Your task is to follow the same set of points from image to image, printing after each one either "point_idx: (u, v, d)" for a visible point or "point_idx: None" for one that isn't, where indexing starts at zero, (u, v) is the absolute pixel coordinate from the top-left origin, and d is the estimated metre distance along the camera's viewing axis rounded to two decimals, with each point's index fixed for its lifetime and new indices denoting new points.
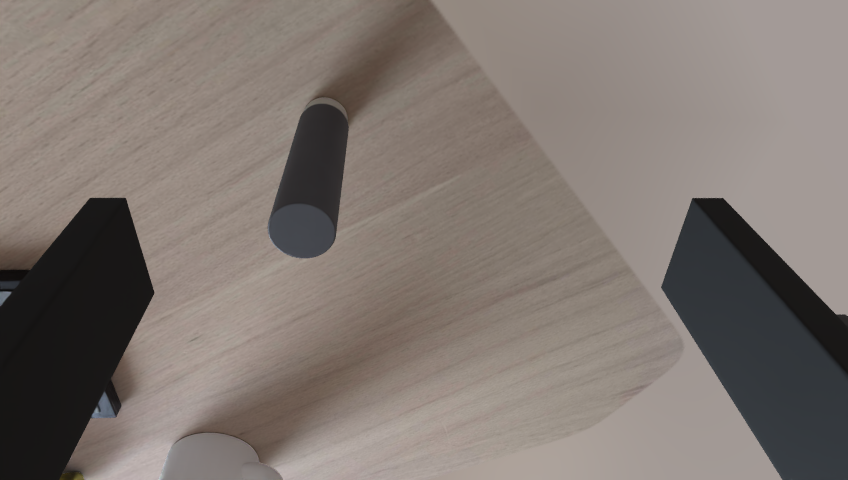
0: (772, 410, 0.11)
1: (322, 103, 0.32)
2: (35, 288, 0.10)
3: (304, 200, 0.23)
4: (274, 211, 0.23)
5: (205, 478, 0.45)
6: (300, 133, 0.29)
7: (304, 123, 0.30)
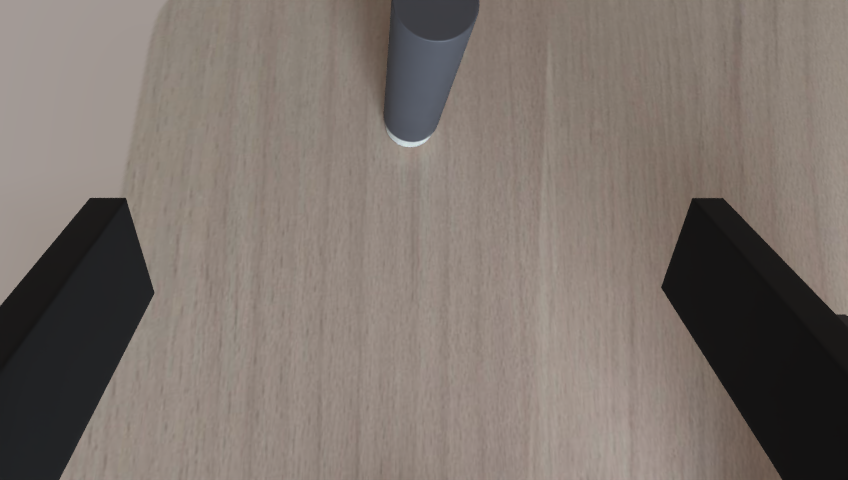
0: (772, 411, 0.11)
1: None
2: (35, 288, 0.10)
3: None
4: (393, 10, 0.18)
5: None
6: (385, 89, 0.25)
7: None
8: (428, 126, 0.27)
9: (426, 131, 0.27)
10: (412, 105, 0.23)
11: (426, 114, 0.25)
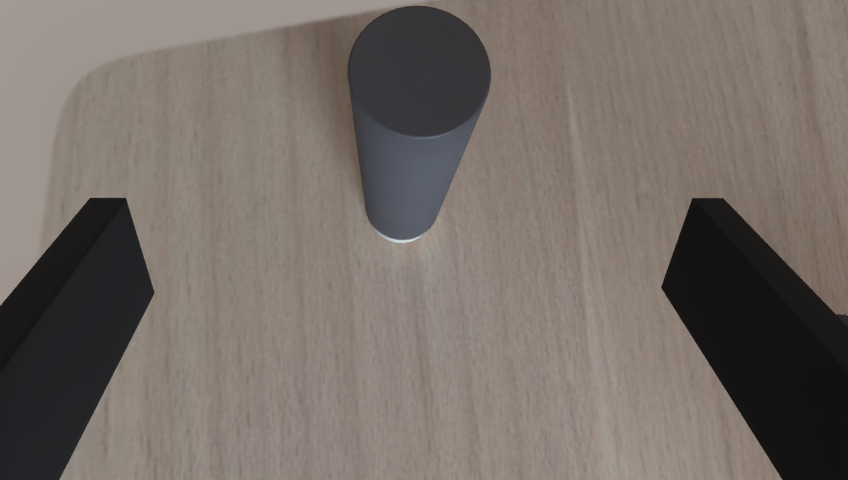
0: (772, 411, 0.11)
1: None
2: (35, 288, 0.10)
3: (361, 34, 0.11)
4: (352, 95, 0.11)
5: None
6: (362, 183, 0.18)
7: None
8: (426, 222, 0.19)
9: (424, 227, 0.20)
10: (401, 208, 0.16)
11: (423, 214, 0.17)
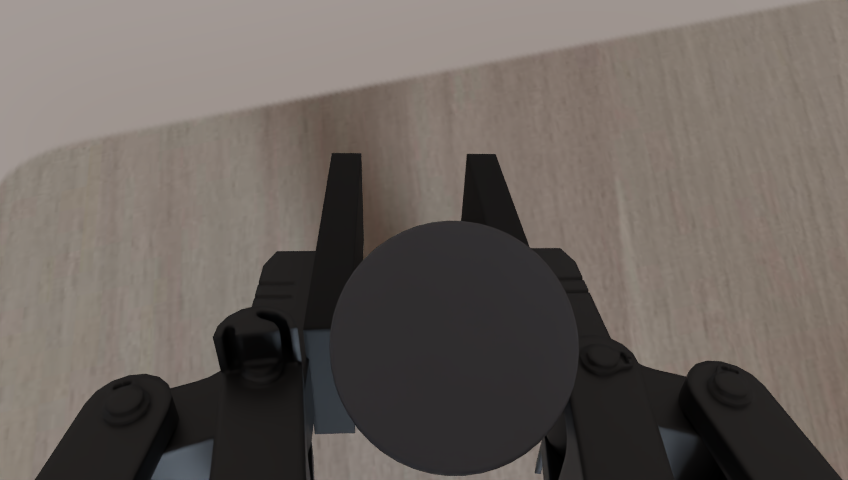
0: None
1: None
2: (337, 217, 0.12)
3: (355, 272, 0.07)
4: (338, 390, 0.06)
5: None
6: None
7: None
8: None
9: None
10: None
11: None
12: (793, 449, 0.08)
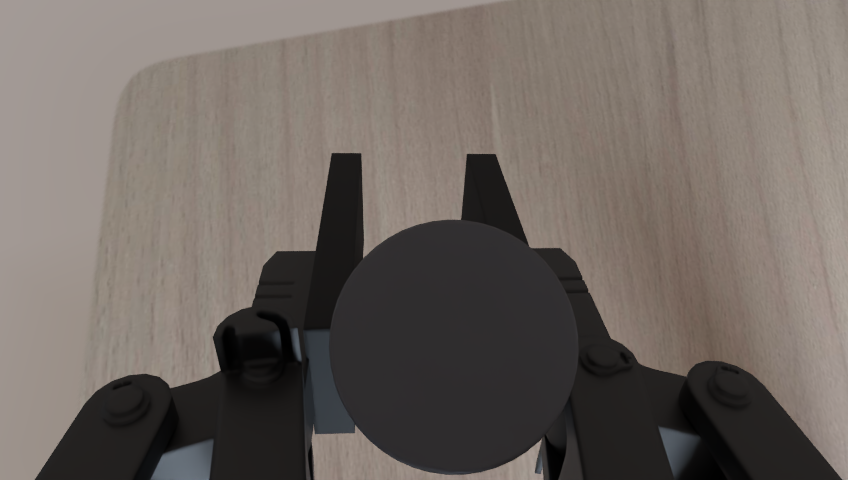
0: None
1: None
2: (337, 217, 0.12)
3: (354, 271, 0.07)
4: (338, 388, 0.06)
5: None
6: None
7: None
8: None
9: None
10: None
11: None
12: (793, 449, 0.08)
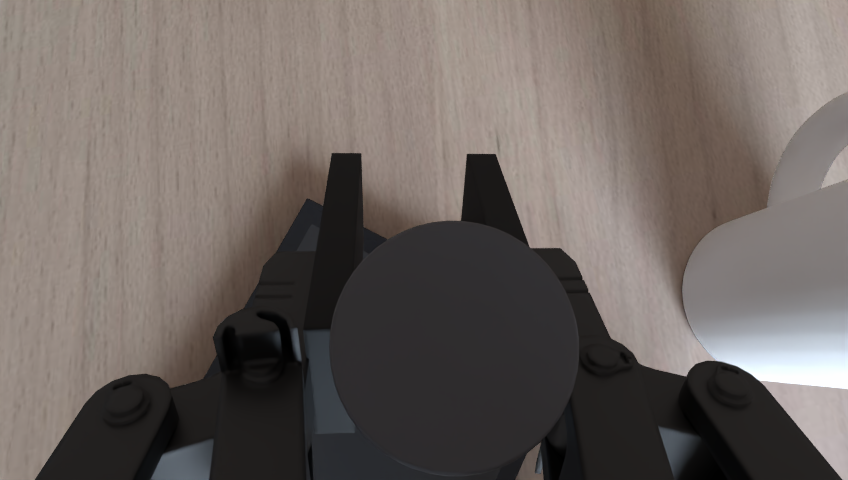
0: None
1: None
2: (337, 217, 0.12)
3: (355, 271, 0.07)
4: (338, 390, 0.06)
5: (750, 227, 0.24)
6: None
7: None
8: None
9: None
10: None
11: None
12: (794, 449, 0.08)
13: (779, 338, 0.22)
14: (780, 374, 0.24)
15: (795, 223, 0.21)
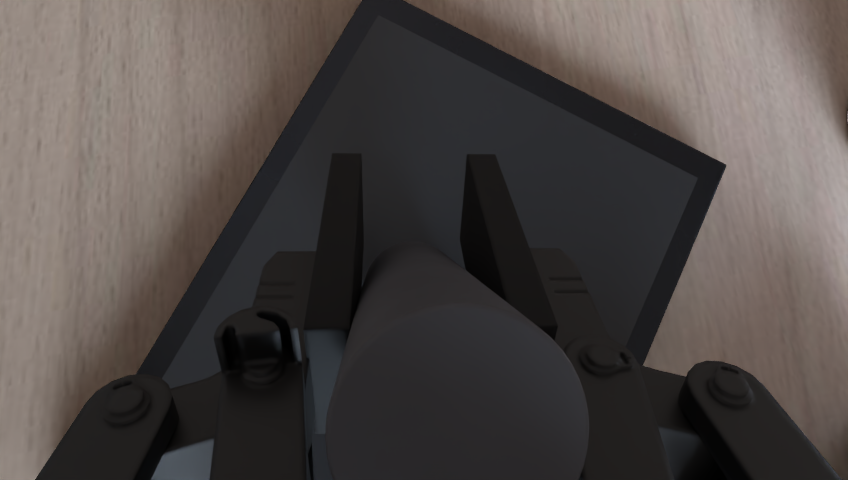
0: None
1: None
2: (337, 217, 0.12)
3: (352, 352, 0.06)
4: (334, 477, 0.06)
5: None
6: None
7: None
8: None
9: None
10: None
11: None
12: (793, 449, 0.08)
13: None
14: None
15: None
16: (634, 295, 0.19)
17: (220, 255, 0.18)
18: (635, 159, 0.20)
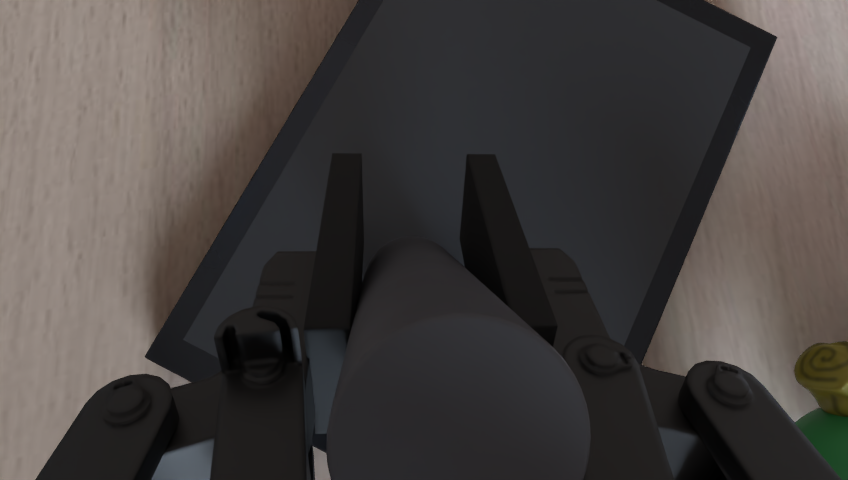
0: None
1: None
2: (337, 217, 0.12)
3: (354, 361, 0.06)
4: None
5: None
6: None
7: None
8: None
9: None
10: None
11: None
12: (793, 449, 0.08)
13: None
14: None
15: None
16: (693, 154, 0.20)
17: (303, 112, 0.19)
18: (691, 30, 0.21)
